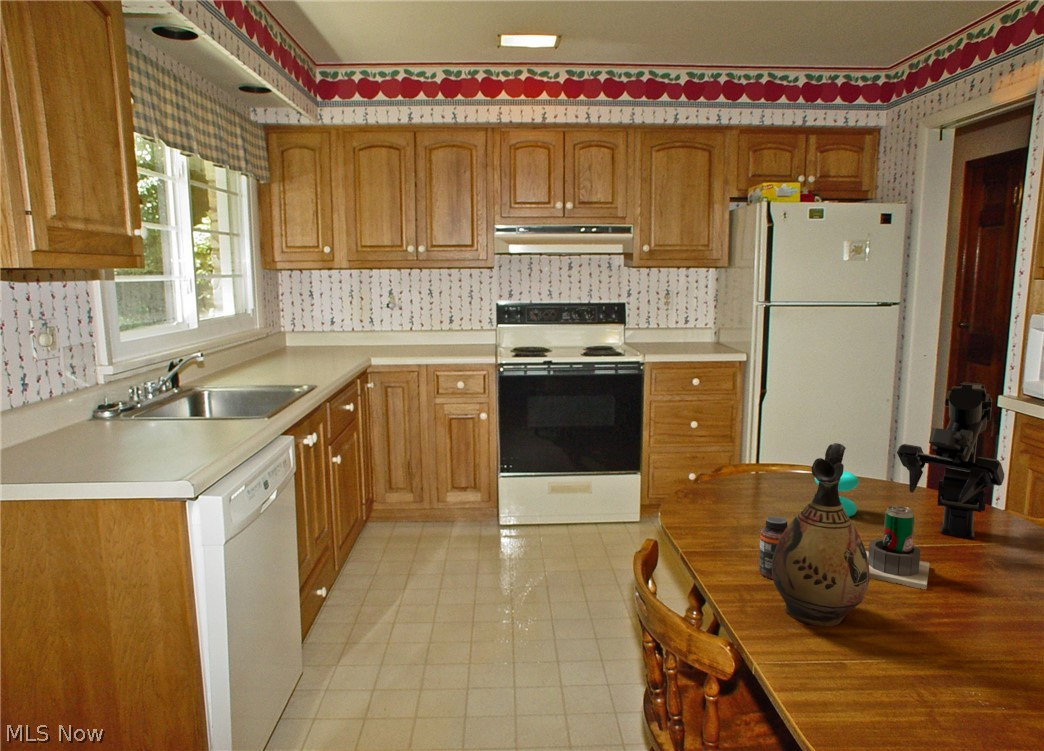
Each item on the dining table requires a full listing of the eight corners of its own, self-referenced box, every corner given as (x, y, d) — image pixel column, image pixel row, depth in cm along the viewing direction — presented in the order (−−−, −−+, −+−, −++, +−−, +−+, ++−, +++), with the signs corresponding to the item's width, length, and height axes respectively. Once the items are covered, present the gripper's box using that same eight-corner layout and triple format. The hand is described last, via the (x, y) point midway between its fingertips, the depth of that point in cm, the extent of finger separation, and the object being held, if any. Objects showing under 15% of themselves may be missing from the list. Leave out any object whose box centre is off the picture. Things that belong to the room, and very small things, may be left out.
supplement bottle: (790, 570, 135) (792, 516, 133) (791, 582, 129) (794, 526, 128) (758, 566, 137) (760, 513, 135) (758, 578, 131) (761, 522, 130)
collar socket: (863, 554, 142) (864, 532, 142) (929, 567, 136) (931, 543, 135) (855, 575, 132) (857, 550, 132) (926, 589, 126) (928, 564, 125)
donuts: (811, 475, 166) (818, 466, 174) (809, 514, 167) (816, 503, 176) (856, 481, 161) (861, 471, 169) (853, 521, 162) (858, 510, 170)
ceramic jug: (861, 646, 106) (874, 463, 102) (761, 621, 114) (768, 450, 110) (871, 603, 121) (882, 440, 117) (781, 583, 129) (789, 431, 125)
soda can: (907, 574, 130) (912, 515, 129) (878, 567, 133) (882, 509, 132) (912, 566, 134) (917, 508, 132) (884, 559, 137) (888, 503, 136)
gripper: (903, 407, 146) (877, 465, 141) (1004, 420, 131) (979, 485, 126) (916, 437, 152) (891, 494, 147) (1014, 453, 137) (990, 517, 132)
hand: (934, 496), depth 138 cm, fingers open, 9 cm apart
